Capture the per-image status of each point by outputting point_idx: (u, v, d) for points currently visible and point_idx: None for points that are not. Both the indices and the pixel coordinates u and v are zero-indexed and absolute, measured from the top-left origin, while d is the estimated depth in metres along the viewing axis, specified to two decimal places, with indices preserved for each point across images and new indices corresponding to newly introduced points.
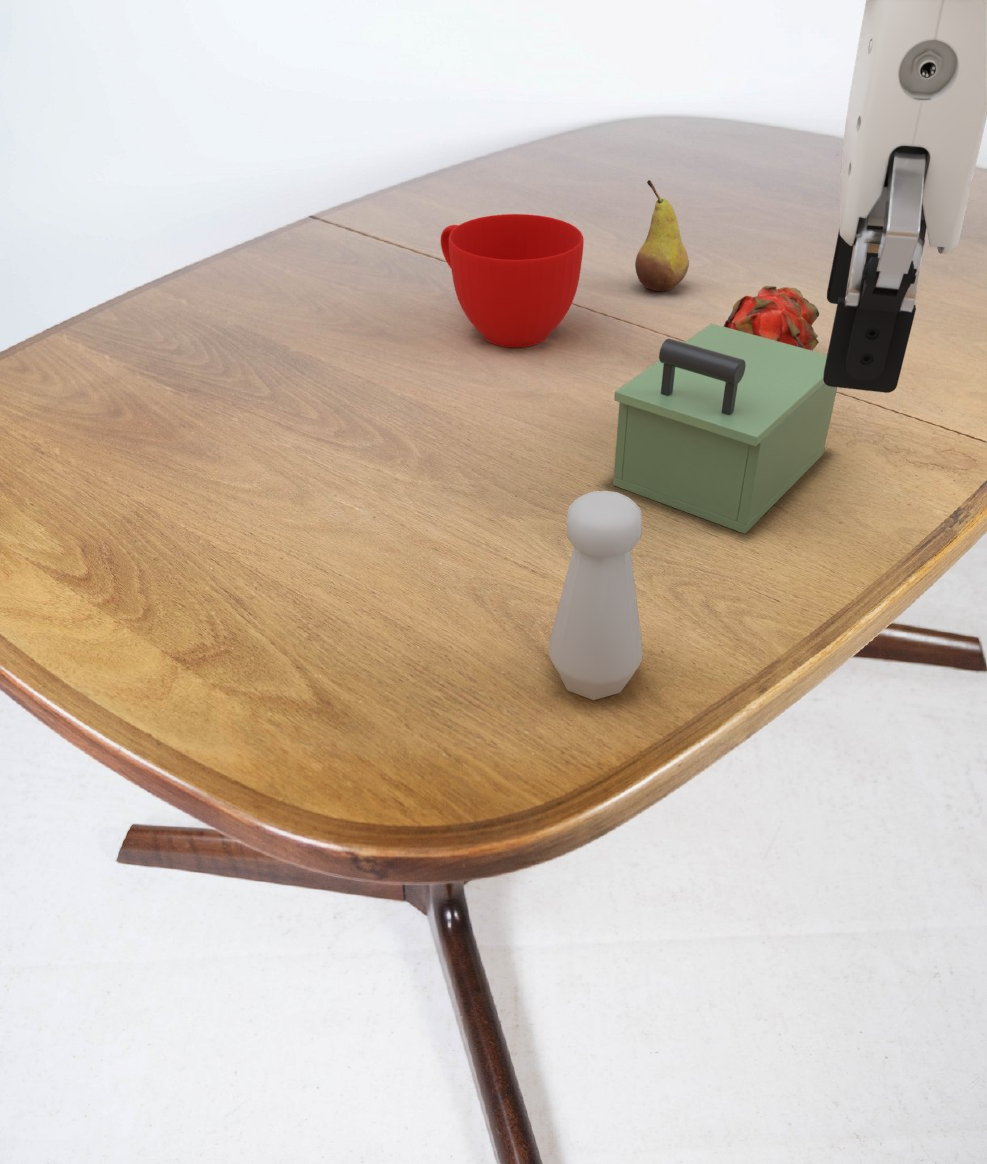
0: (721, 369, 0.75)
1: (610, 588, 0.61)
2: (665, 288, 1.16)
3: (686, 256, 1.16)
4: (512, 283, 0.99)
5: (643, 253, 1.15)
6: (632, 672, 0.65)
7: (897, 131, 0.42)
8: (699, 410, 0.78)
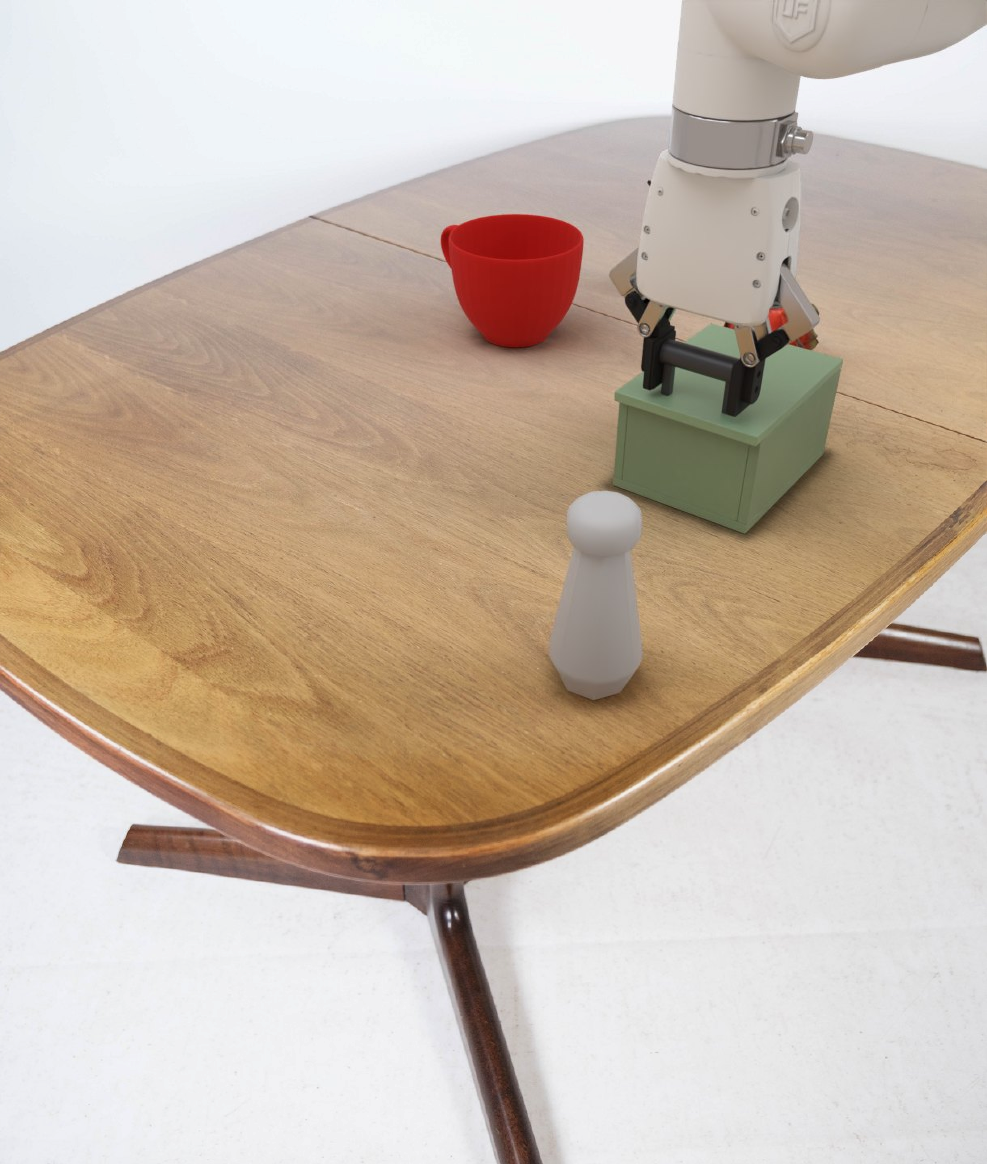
0: (721, 369, 0.75)
1: (610, 588, 0.61)
2: None
3: None
4: (512, 283, 0.99)
5: None
6: (632, 672, 0.65)
7: (782, 252, 0.68)
8: (699, 410, 0.78)
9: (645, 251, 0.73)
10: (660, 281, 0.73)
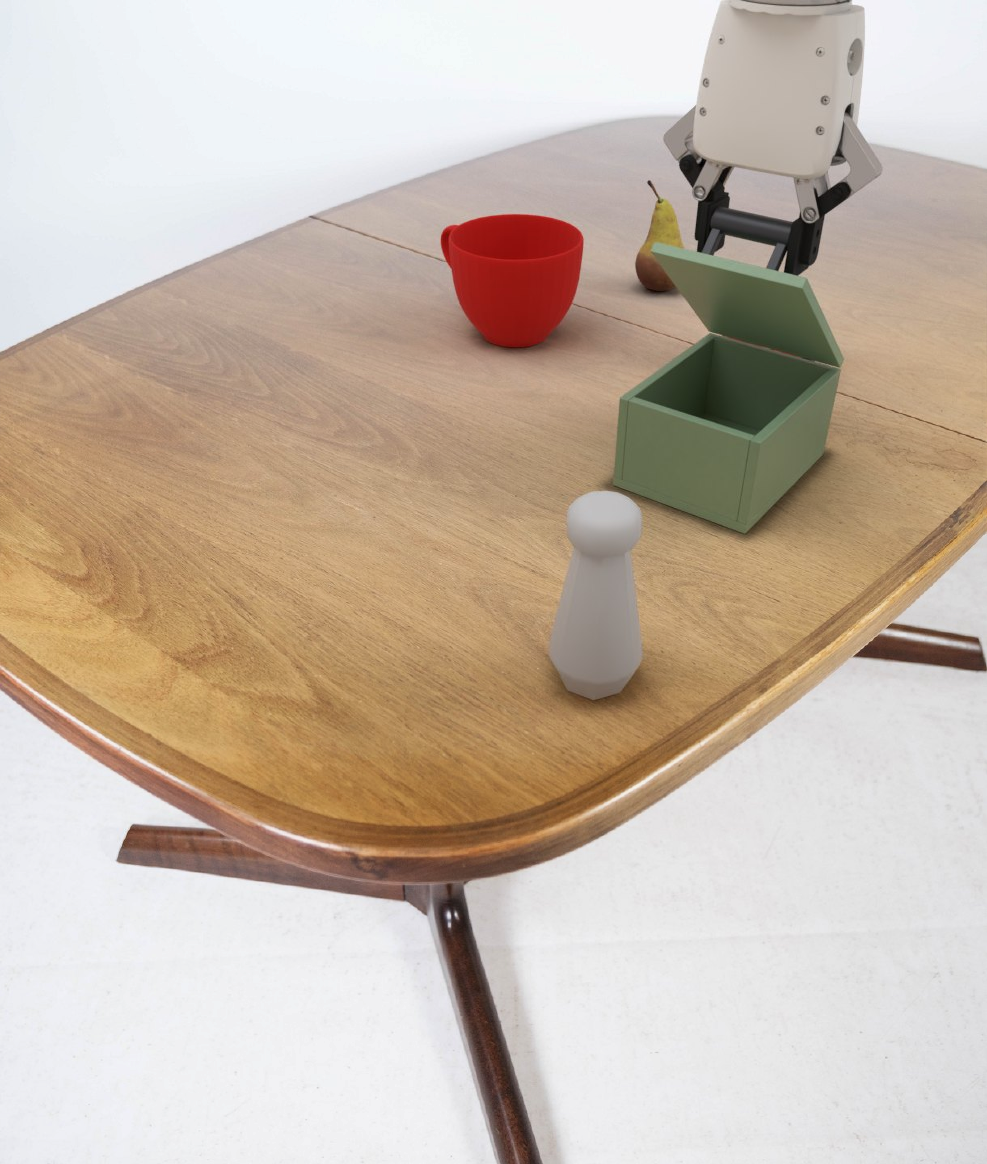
0: (778, 224, 0.74)
1: (610, 588, 0.61)
2: (665, 288, 1.16)
3: None
4: (512, 283, 0.99)
5: (643, 253, 1.15)
6: (632, 672, 0.65)
7: (846, 97, 0.68)
8: None
9: (703, 106, 0.72)
10: (718, 137, 0.72)
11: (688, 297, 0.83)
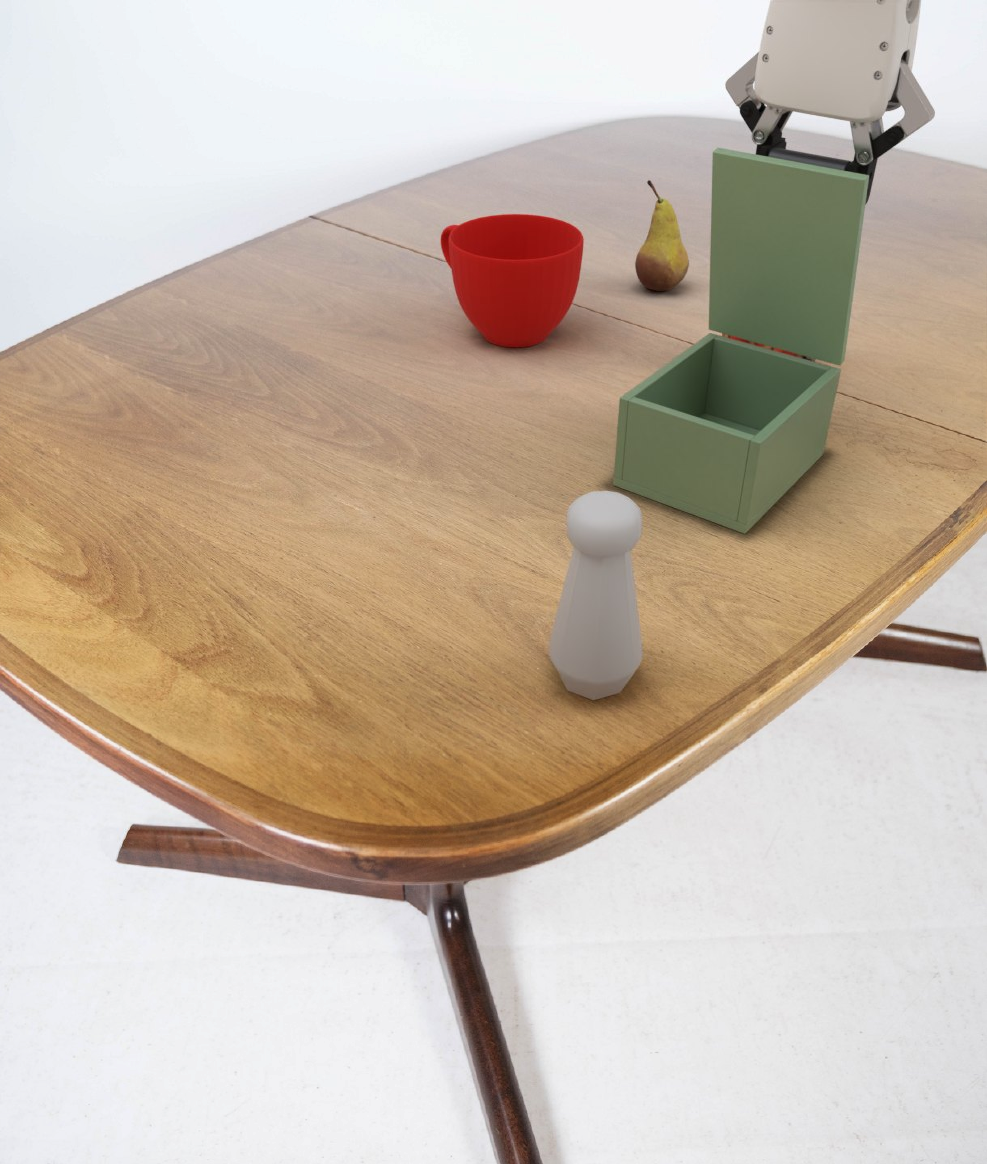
0: (836, 158, 0.78)
1: (610, 588, 0.61)
2: (665, 288, 1.16)
3: (686, 256, 1.16)
4: (512, 283, 0.99)
5: (643, 253, 1.15)
6: (632, 672, 0.65)
7: (903, 44, 0.72)
8: None
9: (766, 52, 0.76)
10: (780, 82, 0.77)
11: (716, 250, 0.84)
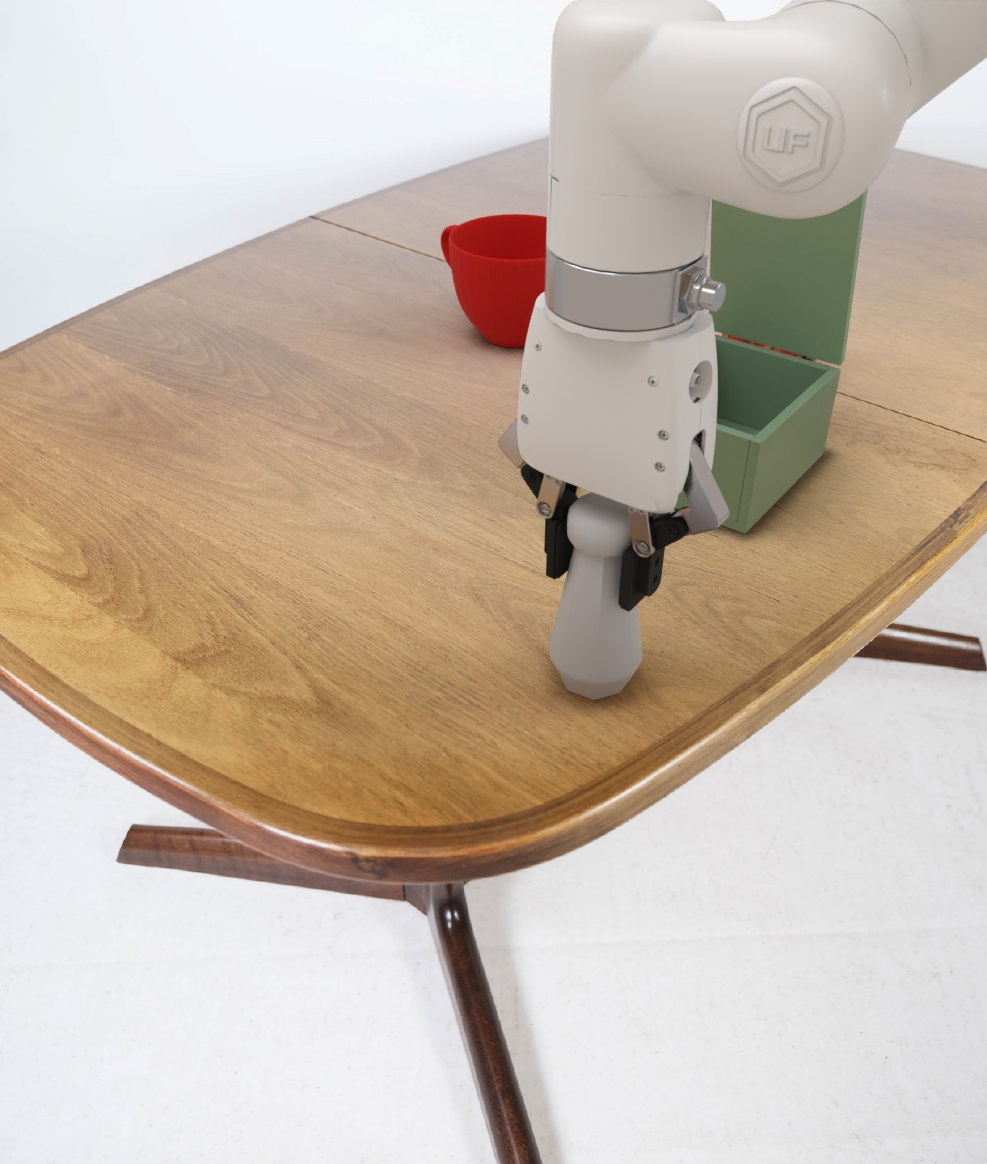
0: None
1: (610, 588, 0.61)
2: None
3: None
4: (512, 283, 0.99)
5: None
6: (632, 672, 0.65)
7: (692, 428, 0.53)
8: None
9: (525, 413, 0.57)
10: (545, 450, 0.58)
11: (716, 250, 0.84)
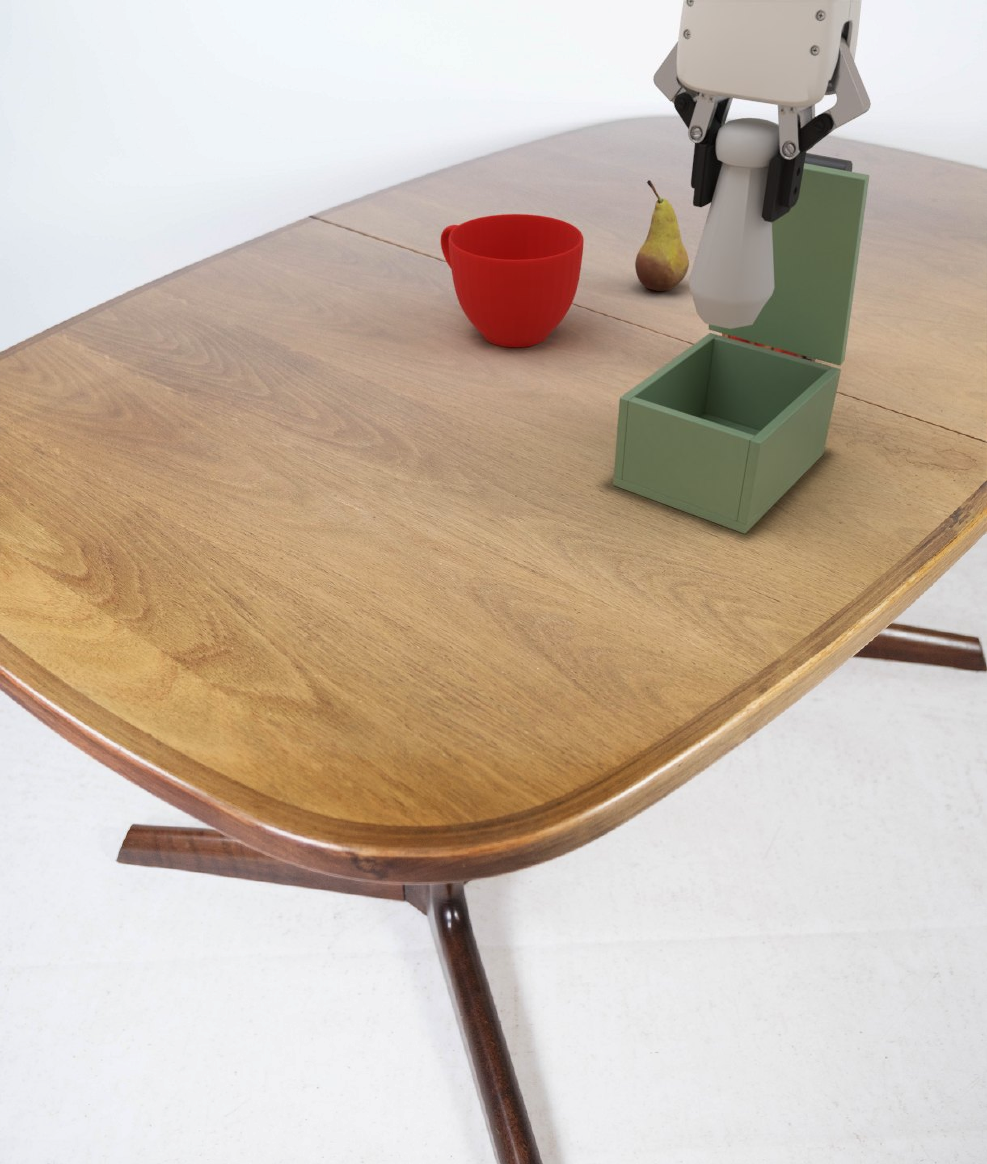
0: (836, 158, 0.78)
1: (754, 204, 0.70)
2: (665, 288, 1.16)
3: (686, 256, 1.16)
4: (512, 283, 0.99)
5: (643, 253, 1.15)
6: (767, 297, 0.73)
7: (844, 13, 0.61)
8: None
9: (687, 28, 0.66)
10: (704, 62, 0.66)
11: None
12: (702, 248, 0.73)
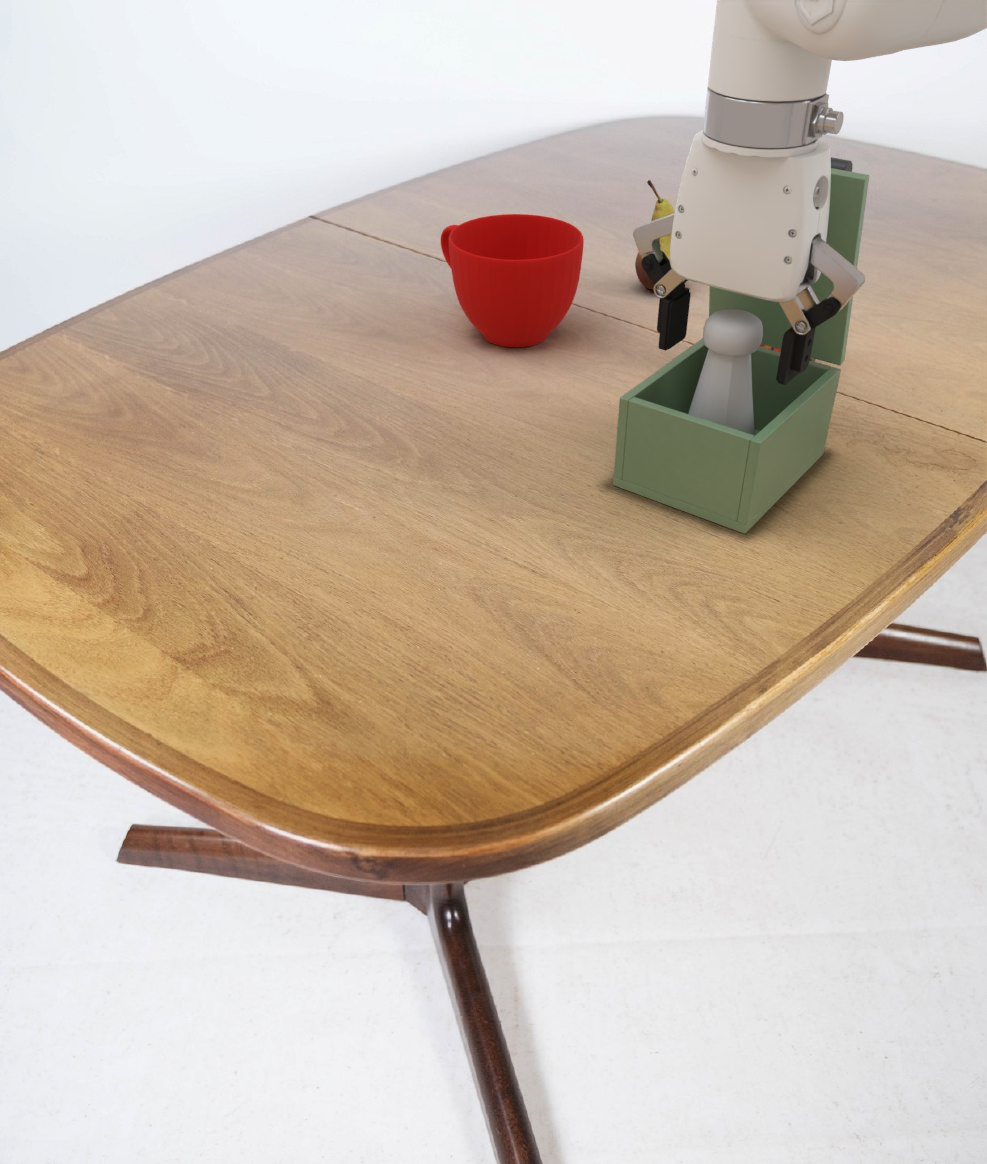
0: (836, 158, 0.78)
1: (736, 384, 0.80)
2: None
3: None
4: (512, 283, 0.99)
5: None
6: None
7: (813, 229, 0.71)
8: None
9: (679, 230, 0.76)
10: (693, 259, 0.76)
11: None
12: (692, 415, 0.83)
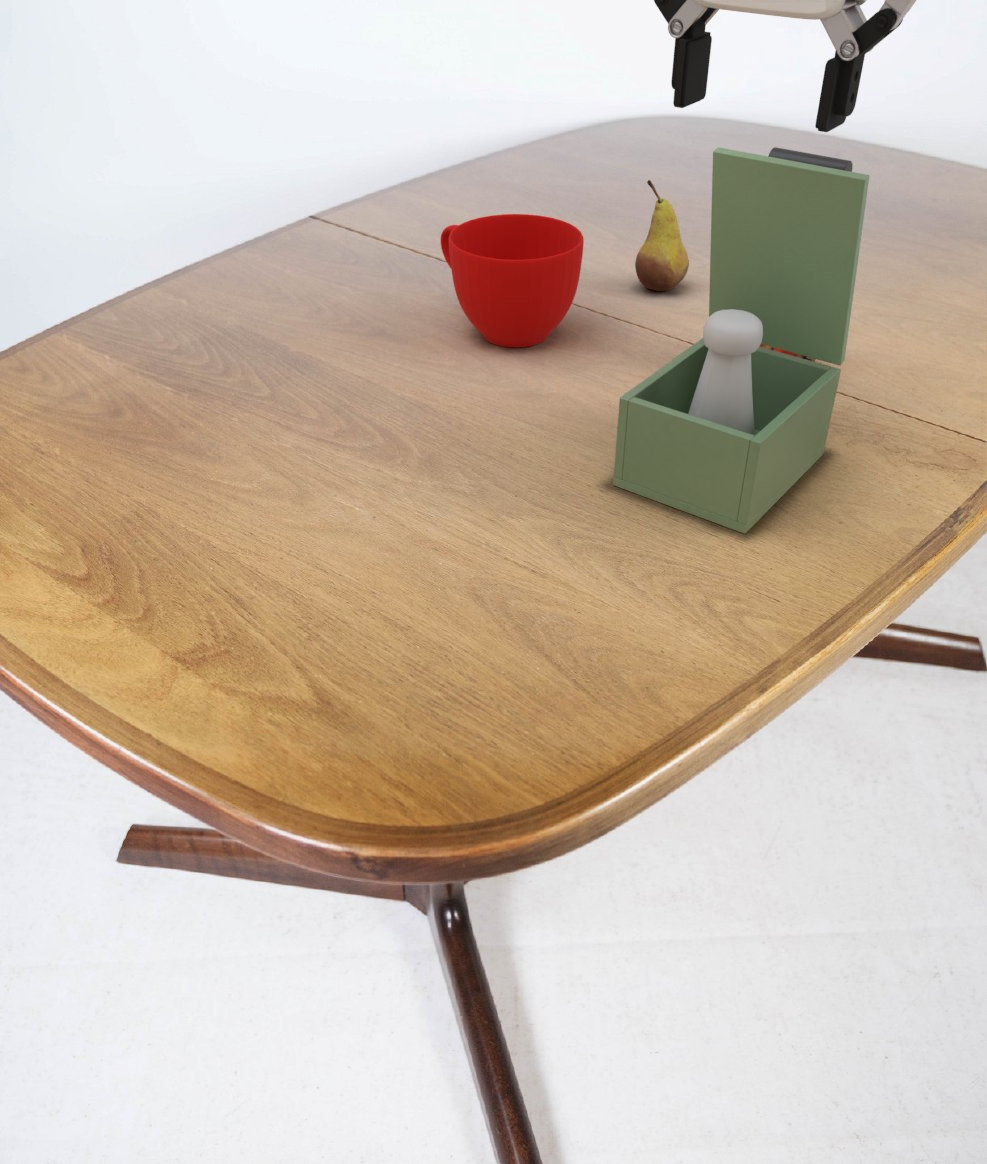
0: (836, 158, 0.78)
1: (736, 384, 0.80)
2: (665, 288, 1.16)
3: (686, 256, 1.16)
4: (512, 283, 0.99)
5: (643, 253, 1.15)
6: None
7: None
8: None
9: None
10: None
11: (716, 250, 0.84)
12: None
